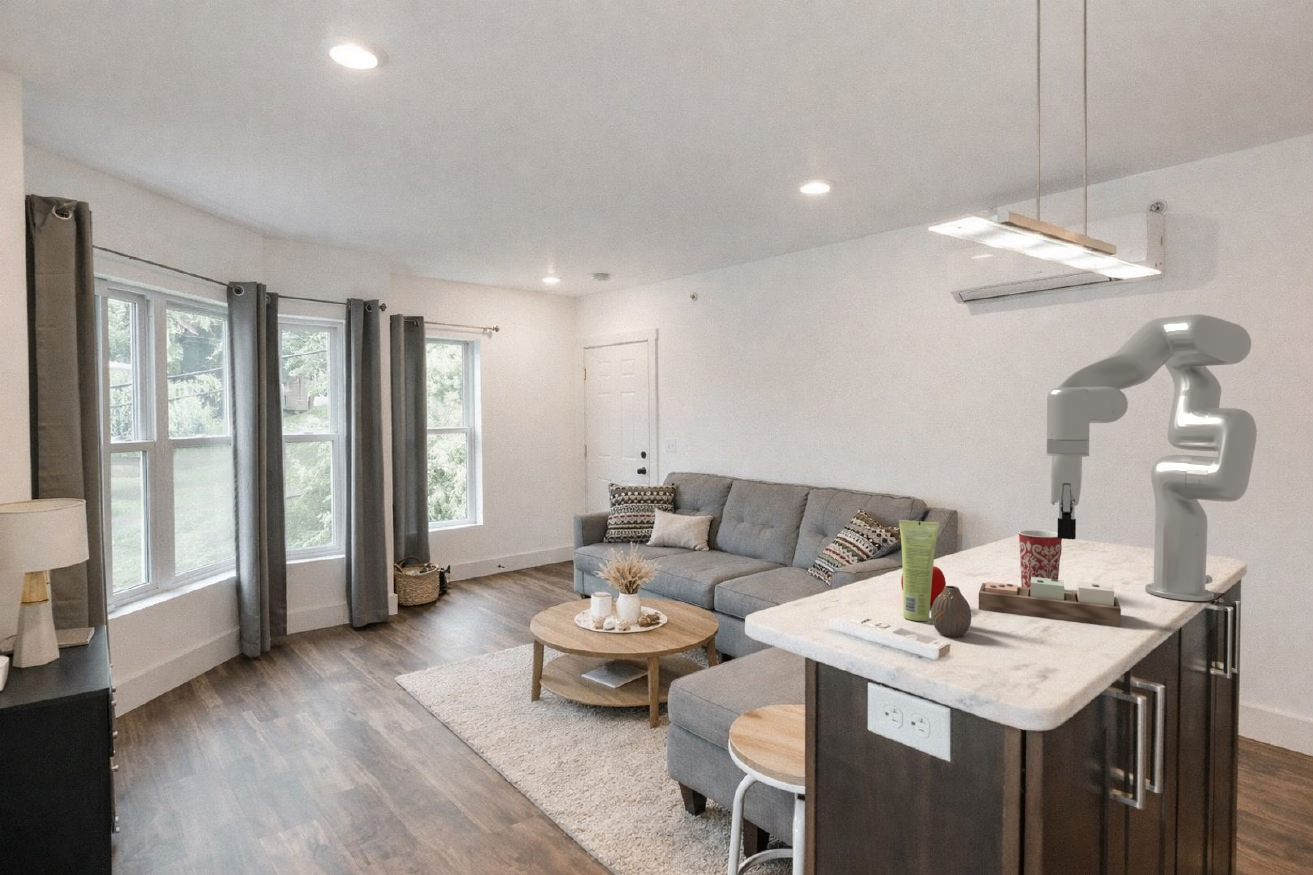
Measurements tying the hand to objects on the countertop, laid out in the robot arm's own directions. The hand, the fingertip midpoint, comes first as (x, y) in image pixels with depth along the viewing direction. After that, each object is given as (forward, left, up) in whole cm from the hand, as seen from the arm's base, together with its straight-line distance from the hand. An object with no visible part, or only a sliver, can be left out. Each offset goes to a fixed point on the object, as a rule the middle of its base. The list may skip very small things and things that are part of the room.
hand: (1066, 538), depth 147 cm
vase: (+32, -1, -16) cm, 36 cm away
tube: (+30, -11, -16) cm, 36 cm away
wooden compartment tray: (+2, -3, -16) cm, 16 cm away
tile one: (-3, +4, -12) cm, 13 cm away
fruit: (+20, -19, -16) cm, 32 cm away
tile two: (+2, -3, -12) cm, 13 cm away
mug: (-14, -15, -16) cm, 26 cm away
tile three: (+7, -10, -14) cm, 18 cm away
